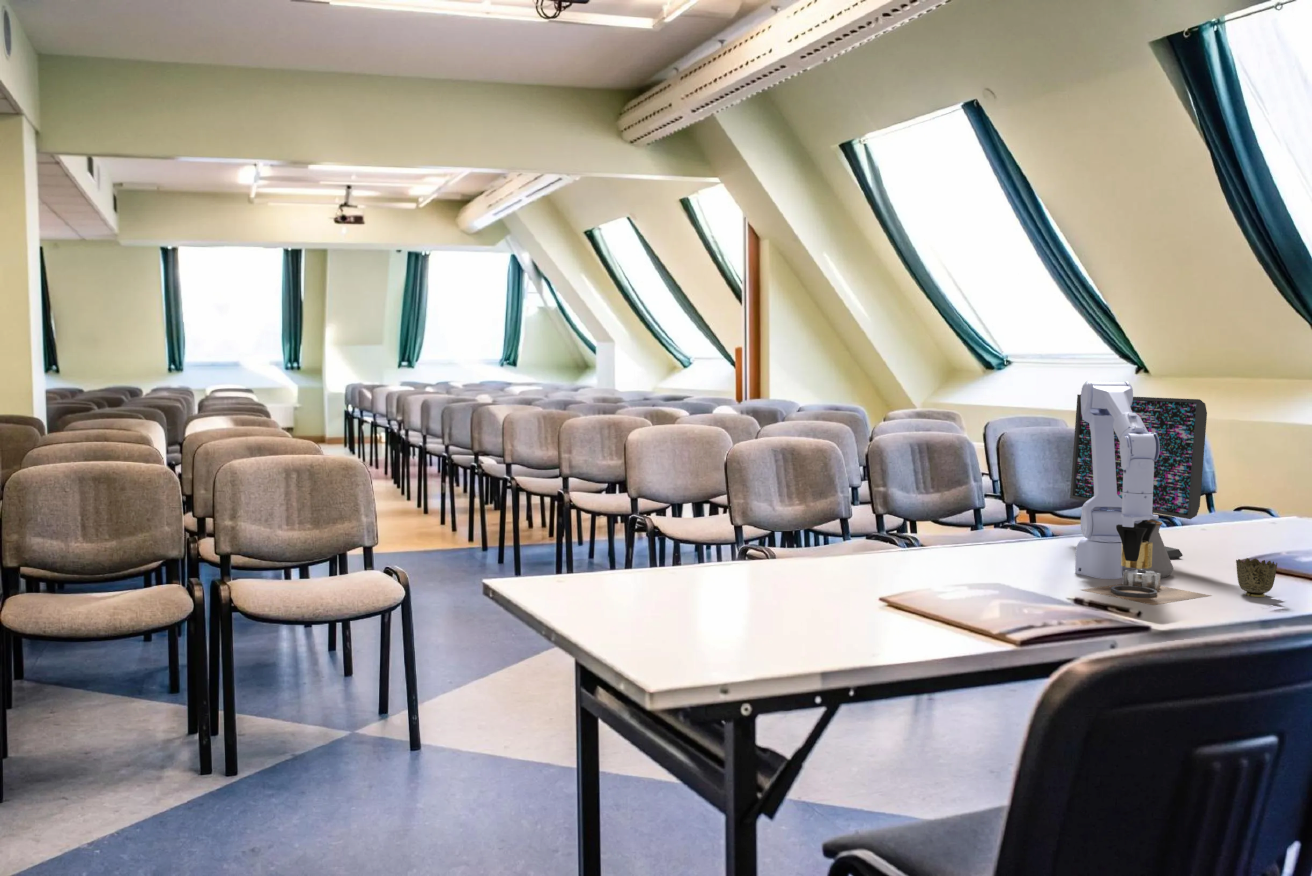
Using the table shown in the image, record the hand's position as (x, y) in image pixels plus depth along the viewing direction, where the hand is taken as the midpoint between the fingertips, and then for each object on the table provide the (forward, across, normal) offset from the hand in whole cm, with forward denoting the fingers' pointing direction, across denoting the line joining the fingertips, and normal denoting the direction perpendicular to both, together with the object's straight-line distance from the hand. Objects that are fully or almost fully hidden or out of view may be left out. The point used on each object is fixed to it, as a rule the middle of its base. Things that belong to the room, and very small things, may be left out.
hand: (1135, 558), depth 231 cm
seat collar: (+7, 0, 0) cm, 7 cm away
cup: (+8, +14, -20) cm, 26 cm away
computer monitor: (+8, +59, +14) cm, 61 cm away
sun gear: (+7, +9, +1) cm, 11 cm away
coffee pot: (+8, +27, +8) cm, 30 cm away
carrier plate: (+8, +3, -2) cm, 9 cm away
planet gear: (+2, 0, 0) cm, 2 cm away
